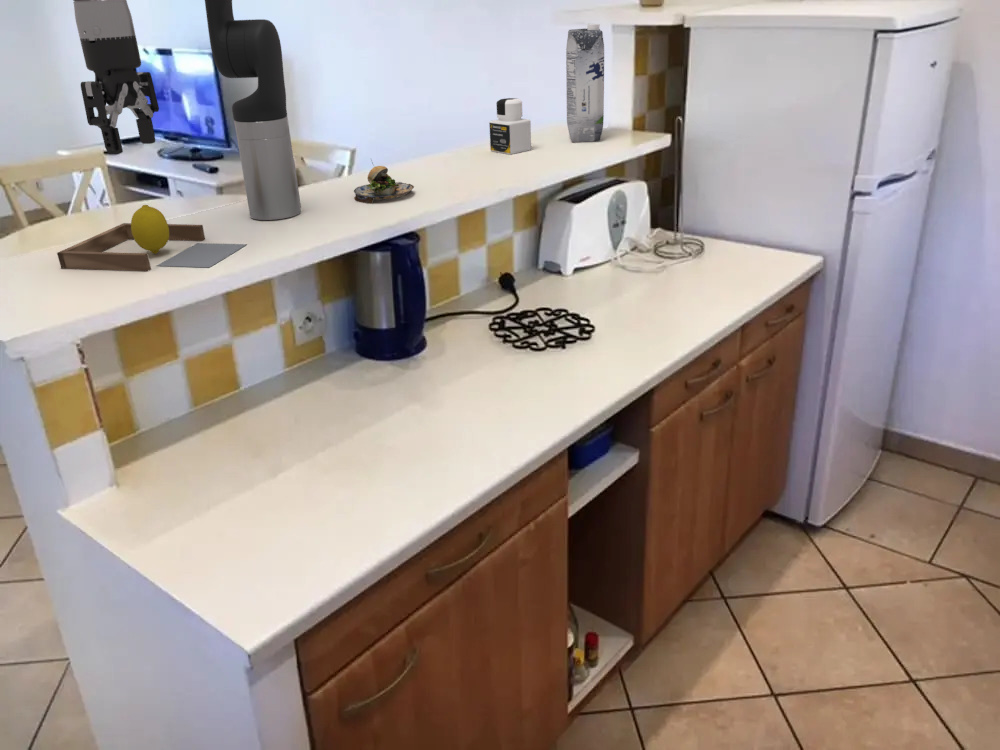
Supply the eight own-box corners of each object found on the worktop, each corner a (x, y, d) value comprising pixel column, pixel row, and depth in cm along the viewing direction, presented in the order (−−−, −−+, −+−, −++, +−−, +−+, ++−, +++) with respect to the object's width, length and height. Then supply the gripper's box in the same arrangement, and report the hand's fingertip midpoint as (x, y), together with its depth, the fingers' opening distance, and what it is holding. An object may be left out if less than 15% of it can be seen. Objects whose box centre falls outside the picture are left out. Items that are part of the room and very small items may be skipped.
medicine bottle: (490, 151, 204) (487, 99, 199) (511, 146, 208) (509, 96, 203) (510, 154, 199) (508, 101, 194) (531, 150, 203) (530, 98, 198)
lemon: (179, 248, 139) (169, 200, 135) (164, 259, 134) (153, 209, 130) (147, 248, 139) (136, 200, 136) (130, 259, 134) (119, 209, 131)
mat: (197, 243, 141) (197, 243, 141) (246, 244, 139) (246, 244, 139) (156, 266, 130) (156, 265, 130) (209, 267, 128) (209, 267, 128)
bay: (126, 237, 146) (123, 223, 145) (205, 239, 143) (202, 224, 142) (61, 268, 131) (56, 252, 130) (147, 271, 128) (143, 255, 127)
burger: (370, 208, 159) (366, 168, 156) (344, 197, 168) (339, 159, 165) (426, 197, 165) (423, 159, 162) (397, 187, 174) (394, 150, 171)
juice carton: (567, 143, 209) (567, 25, 197) (566, 136, 218) (565, 23, 207) (604, 142, 208) (605, 24, 197) (601, 135, 218) (602, 21, 206)
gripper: (114, 32, 129) (137, 140, 136) (51, 38, 117) (80, 157, 124) (158, 30, 128) (179, 140, 135) (99, 36, 115) (126, 157, 122)
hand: (132, 148), depth 129 cm, fingers open, 8 cm apart
